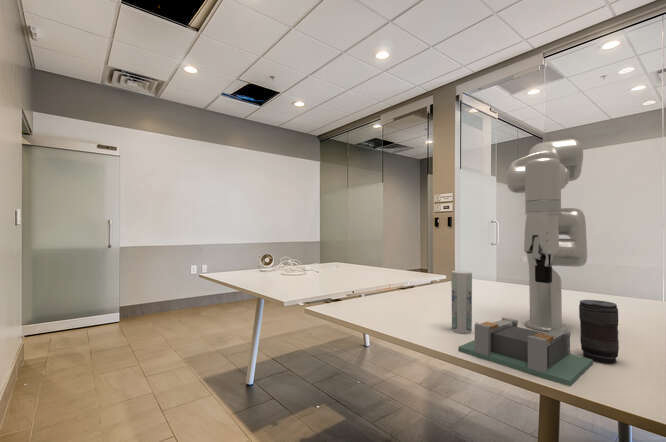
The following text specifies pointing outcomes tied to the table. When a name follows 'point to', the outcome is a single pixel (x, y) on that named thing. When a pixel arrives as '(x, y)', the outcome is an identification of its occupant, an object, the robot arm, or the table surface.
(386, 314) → the table surface
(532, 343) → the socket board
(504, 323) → the strap
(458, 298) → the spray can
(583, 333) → the camera lens
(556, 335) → the strap
